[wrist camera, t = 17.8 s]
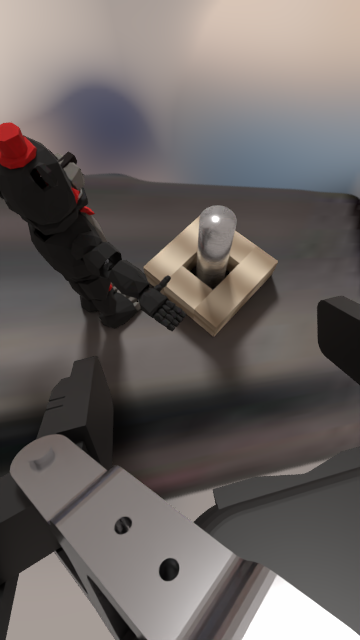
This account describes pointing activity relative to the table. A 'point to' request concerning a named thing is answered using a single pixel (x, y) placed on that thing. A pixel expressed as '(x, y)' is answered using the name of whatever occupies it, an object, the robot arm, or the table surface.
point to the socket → (193, 294)
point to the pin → (214, 244)
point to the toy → (75, 233)
